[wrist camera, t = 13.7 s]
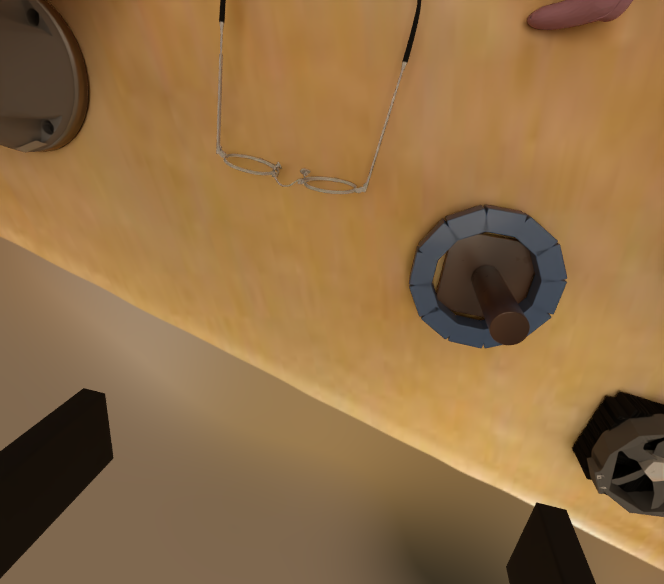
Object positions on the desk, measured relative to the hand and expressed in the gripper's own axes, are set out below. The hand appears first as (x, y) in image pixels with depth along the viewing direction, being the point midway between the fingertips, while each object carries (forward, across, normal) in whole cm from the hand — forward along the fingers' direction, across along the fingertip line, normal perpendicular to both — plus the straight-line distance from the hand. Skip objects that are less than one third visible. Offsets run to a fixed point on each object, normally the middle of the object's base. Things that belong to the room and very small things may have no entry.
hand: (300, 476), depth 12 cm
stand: (+29, +10, -2) cm, 31 cm away
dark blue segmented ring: (+28, +10, -2) cm, 30 cm away
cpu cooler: (+29, +29, -16) cm, 44 cm away
